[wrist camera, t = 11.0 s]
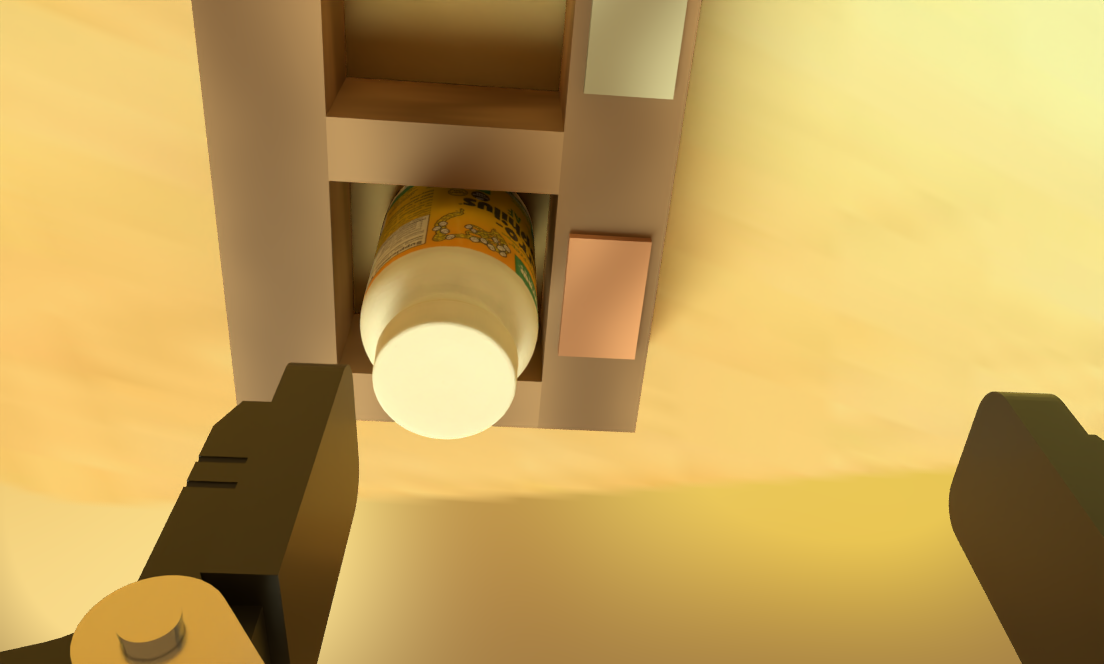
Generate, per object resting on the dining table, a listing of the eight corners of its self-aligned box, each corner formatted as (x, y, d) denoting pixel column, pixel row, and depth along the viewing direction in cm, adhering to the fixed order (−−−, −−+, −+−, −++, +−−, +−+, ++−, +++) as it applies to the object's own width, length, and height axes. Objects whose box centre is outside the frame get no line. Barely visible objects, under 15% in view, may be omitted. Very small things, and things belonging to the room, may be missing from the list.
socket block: (706, -209, 27) (735, -202, 24) (624, 370, 38) (635, 437, 34) (208, -254, 26) (158, -255, 23) (264, 353, 37) (236, 420, 33)
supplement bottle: (353, 222, 34) (302, 371, 26) (467, 131, 32) (450, 259, 24) (454, 322, 36) (436, 488, 28) (564, 241, 35) (579, 393, 27)
